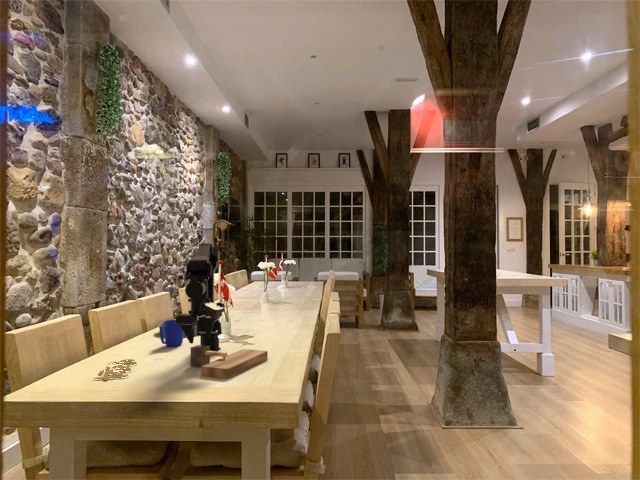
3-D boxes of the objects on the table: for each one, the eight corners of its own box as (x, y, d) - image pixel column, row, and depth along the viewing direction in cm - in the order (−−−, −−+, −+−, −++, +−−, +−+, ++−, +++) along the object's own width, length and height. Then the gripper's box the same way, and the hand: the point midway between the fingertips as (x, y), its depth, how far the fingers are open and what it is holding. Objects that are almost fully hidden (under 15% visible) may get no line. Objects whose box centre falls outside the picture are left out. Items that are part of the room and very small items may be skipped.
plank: (201, 375, 146) (201, 366, 146) (243, 357, 170) (243, 348, 170) (227, 378, 143) (227, 368, 143) (267, 359, 166) (267, 350, 166)
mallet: (190, 366, 158) (190, 347, 158) (198, 363, 162) (197, 345, 162) (222, 369, 153) (222, 350, 153) (229, 366, 157) (229, 347, 157)
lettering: (110, 362, 166) (110, 360, 166) (140, 360, 168) (140, 358, 168) (91, 383, 142) (91, 380, 142) (126, 380, 144) (126, 377, 144)
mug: (152, 348, 186) (152, 324, 186) (172, 342, 197) (172, 319, 197) (169, 350, 183) (168, 325, 183) (188, 343, 194) (188, 320, 194)
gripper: (201, 299, 147) (202, 348, 147) (234, 293, 164) (235, 336, 164) (173, 298, 152) (174, 345, 152) (208, 292, 169) (209, 334, 169)
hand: (200, 340), depth 159 cm, fingers open, 9 cm apart
